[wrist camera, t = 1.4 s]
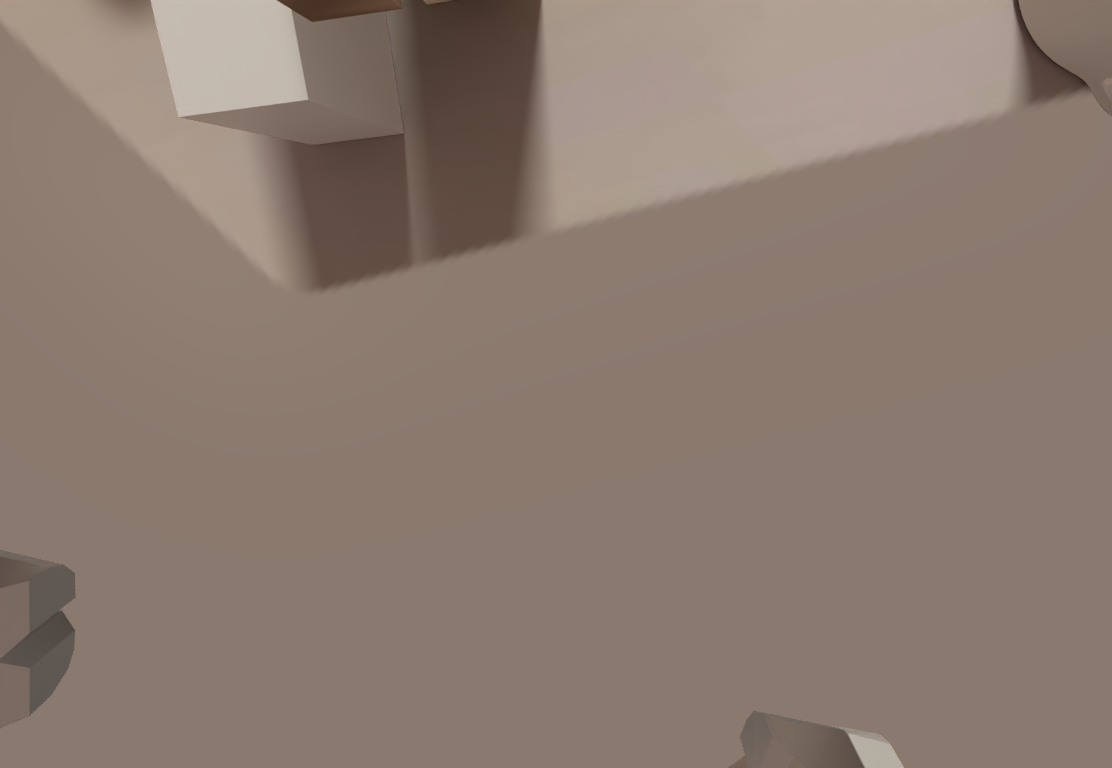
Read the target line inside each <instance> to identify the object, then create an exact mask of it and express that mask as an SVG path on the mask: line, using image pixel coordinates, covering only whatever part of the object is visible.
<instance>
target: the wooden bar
mask: <svg viewBox="0 0 1112 768" xmlns="http://www.w3.org/2000/svg"><path fill="white" fill-rule="evenodd" d="M277 1H279V2H280V3H282V4H283V5H285V6H287V7H288V8H290V9H292V10H293V11H295V12H296V13H298V14H300V15H301V16H303V17H305V18H306V19H308V20H309V21H311V22H316V21H323V20H330V19H337V18H343V17H350V16H357V15H364V14H370V13H377V12H384V11H390V10H397V9H402V6H401V0H277Z"/></svg>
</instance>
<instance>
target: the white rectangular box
mask: <svg viewBox="0 0 1112 768" xmlns="http://www.w3.org/2000/svg"><path fill="white" fill-rule="evenodd" d="M151 4H152V9H153V13H154V17H155V21H156V25H157V29H158V34H159V38H160V42H161V46H162V50H163V54H164V59H165V63H166V67H167V71H168V75H169V80H170V84H171V88H172V92H173V96H174V100H175V105H176V109H177V113H178V117H180V118H185V119H190V120H195V121H199V122H204V123H209V124H214V125H219V126H223V127H228V128H233V129H238V130H243V131H247V132H252V133H257V134H262V135H267V136H271V137H276V138H281V139H286V140H291V141H295V142H300V143H305V144H310V145H317V144H325V143H333V142H341V141H349V140H357V139H365V138H373V137H381V136H389V135H397V134H404V130H403V123H402V117H401V111H400V104H399V98H398V91H397V85H396V78H395V72H394V65H393V59H392V53H391V46H390V40H389V33H388V27H387V20H386V14H385V11H384V12H377V13H370V14H364V15H357V16H350V17H343V18H337V19H330V20H323V21H316V22H311V21H309V20H308V19H306V18H305V17H303V16H301V15H300V14H298V13H296V12H295V11H293V10H292V9H290V8H288V7H287V6H285V5H283V4H282V3H280V2H279V1H277V0H151Z"/></svg>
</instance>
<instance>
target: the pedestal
mask: <svg viewBox="0 0 1112 768" xmlns="http://www.w3.org/2000/svg"><path fill="white" fill-rule="evenodd" d="M423 1H424V2H425V3H426V4H434V3H441V2H448V1H454V0H423Z"/></svg>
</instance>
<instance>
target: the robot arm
mask: <svg viewBox="0 0 1112 768" xmlns="http://www.w3.org/2000/svg"><path fill="white" fill-rule="evenodd" d="M1019 6H1020V10H1021V13H1022V16H1023V19H1024V22H1025V24H1026V27H1027V29H1028V31H1029V33H1030V34H1031V36H1032V38H1033V39H1034V41H1035V42H1036V44H1037V45H1038V46H1039V47H1040V49H1041V50H1042V51H1043V52H1044V53H1045V54H1046V55H1047V56H1048V57H1049V58H1051V59H1052V60H1053V61H1054V62H1056V63H1057V64H1058V65H1060V66H1062V67H1063V68H1065V69H1067V70H1068V71H1070V72H1072V73H1074V74H1075V75H1077V76H1078V77H1080V78H1081V79H1082V80H1084V81H1085V82H1086V83H1087V84H1088V86H1089V88H1090V90H1091V91H1092V93H1093V95H1094V96H1095V98H1096V100H1097V101H1098V102H1099V104H1100V106H1101V107H1102V108H1103V109H1104V110H1105V111H1106V112H1107V113H1108V114H1110V115H1112V0H1019ZM74 599H75V573H74V572H73V571H72V570H70V569H69V568H68V567H66V566H65V565H63V564H59V563H54V562H50V561H46V560H41V559H37V558H33V557H29V556H25V555H20V554H16V553H12V552H8V551H3V550H0V728H2V727H4V726H7V725H9V724H11V723H14V722H16V721H18V720H21V719H23V718H25V717H28V716H30V715H31V714H32V713H33V712H34V711H35V710H36V709H37V708H38V707H39V706H40V705H41V704H43V703H44V702H45V701H46V700H47V699H48V698H49V697H50V696H51V695H52V693H53V692H54V690H55V689H56V687H57V685H58V684H59V682H60V681H61V679H62V678H63V676H64V674H65V673H66V671H67V670H68V667H69V664H70V661H71V657H72V654H73V651H74V642H75V641H74V639H75V630H74V628H73V626H72V625H71V624H70V622H69V621H68V619H67V618H66V616H65V614H64V613H63V611H62V610H64V608H65V607H66V606H68V605H69V604H70V602H72V601H73V600H74ZM740 738H741V742H742V746H743V749H744V752H745V756H744V757H742V758H741V759H739V760H738V761H737V762H735V763H734V764H732V765H731V766H729V768H904V767H903V765H902V764H901V762H900V760H899V759H898V757H897V755H896V754H895V752H894V750H893V748H892V747H891V745H890V744H889V742H888V741H886V740H885V739H884V738H883V737H882V736H880V735H879V734H875V733H870V732H865V731H859V730H854V729H849V728H843V727H838V726H837V727H831V726H827V725H822V724H817V723H812V722H807V721H802V720H797V719H792V718H787V717H782V716H778V715H773V714H768V713H763V712H758V711H753V713H752V714H751V715H750V716H749V718H748V719H747V720H746V722H745V725H744V728H743V730H742V733H741V735H740Z"/></svg>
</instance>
